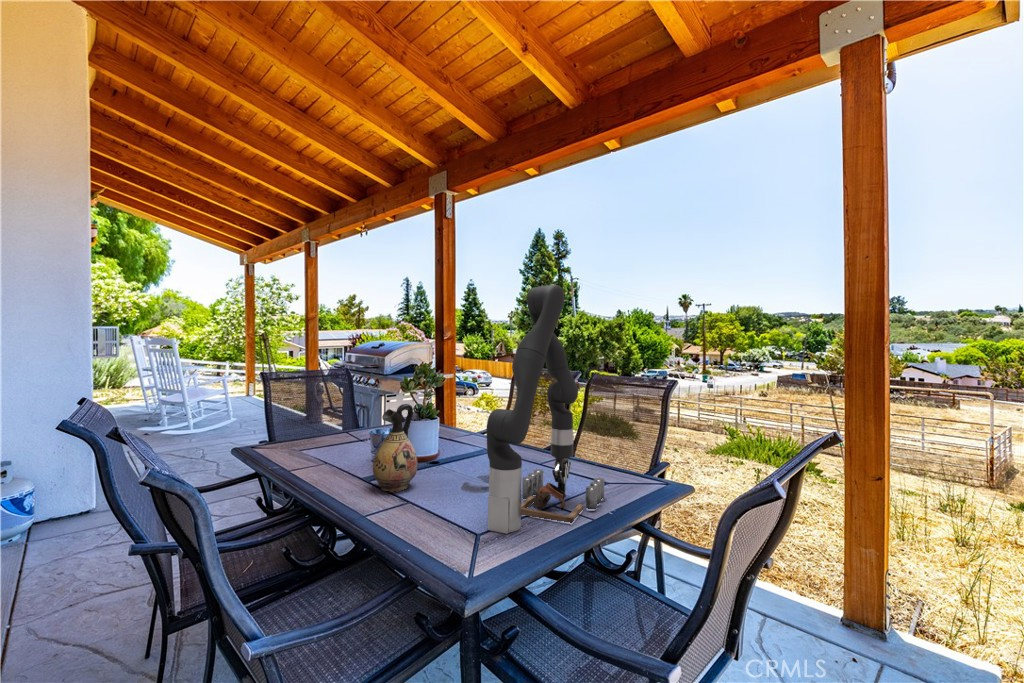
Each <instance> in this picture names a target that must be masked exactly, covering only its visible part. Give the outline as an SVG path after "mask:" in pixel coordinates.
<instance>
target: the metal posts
mask: <svg viewBox="0 0 1024 683" xmlns="http://www.w3.org/2000/svg"><path fill="white" fill-rule="evenodd" d="M543 486H544V470H543V469H540V468H539V469H537V468H536V469H533V472H528V474H527V476H523V477H521V499H522V498H523V499H527V498H528V497H530V496H533V495H536V494H537V492H538V490H539V489H540V488H541V487H543ZM602 498H604V499H605V479H604V478H602V477H594V479H593V481H591V482H590V483H589V485H588V486H586V487H585V509H586V508H588V509H596V508H597V509H598V507H597V504H599V503H602V502H601V499H602ZM523 499H522V500H523Z"/></svg>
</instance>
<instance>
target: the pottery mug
mask: <svg viewBox="0 0 1024 683" xmlns="http://www.w3.org/2000/svg"><path fill="white" fill-rule="evenodd" d="M551 497H553V498H555V499H558V500H559V501H561V505H560V507H559V508H560V509H561V508H562V507H563V508H564V507H565V504H566V502H565V498H566V497H567V494H566V492H565V493H564V492H563V491H562V490H561V489H559V488H558V486H556V485H555V484H553V483H550V482H547V483H546V484H545V485H543V487H541V488H540V489H539V490H538V492H537V494H536V496H535V500H534V503H533V504H532V505H533V507H536V508H535V509H537V508H538V509H539V508H540V509H546V507H547V505H548V503H549V502H550V501H551Z"/></svg>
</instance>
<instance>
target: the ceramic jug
mask: <svg viewBox="0 0 1024 683" xmlns="http://www.w3.org/2000/svg"><path fill="white" fill-rule="evenodd" d="M403 411H407V414H406V419H405V416H404V414H403ZM413 416H414V408H413V406H412V405H411V404H408V403H402V404H400V405H399V406H398V407H397V409H396V410H392V409H390V408H388V409H387V410H386V411H385V412H383V415H382V420H383V421H386V422H387V423H390V424H392V428H391V430H390V432H389V433H388V434H387V435H386V437H385V438H384V440H383V442H382V443H381V445H380V446H379V448H378V449H377V451H376V454H375V457H374V459H373V464H372V473H373V476H374V478H375V480H376V482H377V483H378V485H379V486H380V490H381V491H382V490H383V491H382V492H386V491H390V492H389V493H395V492H394V491H398V492H401V491H400V490H403V491H405V490H406V489H407V488H408V486H409V484H410V482H412V481H413V479H414V478H415V476H416V475H417V472H418V456H417V453H416V449H415V448H414V446H413V444H412V442H411V441H410V439H409V436H408V435H409V429H410V426H411V422H412V420H413ZM403 423H404V425H403ZM404 489H405V490H404Z"/></svg>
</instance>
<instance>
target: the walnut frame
mask: <svg viewBox="0 0 1024 683" xmlns="http://www.w3.org/2000/svg"><path fill="white" fill-rule="evenodd" d="M534 500H535V496H530V497H528V498H527V499H526V500H523V501H521V515H526V516H532V517H539V518H544V519H551V520H557V521H564V522H570V523H572V522H573V521H574V519H575V518H576V517H577V516H578V514H579V513H580V512H581V511H582V510H583V508H584V506H585V505H584V504H582V503H578V504H577V506H576V507H575V508H574V509H573V510H572V511H571V512H570V513H569V514H568V515H566V514H561V513H560V514H559V513H555V512H549V511H544V510H539V509H533V508H530V507H531V506H532V505H533V504H532V503H533V502H534ZM531 504H532V505H531ZM530 505H531V506H530ZM529 506H530V507H529ZM527 507H529V508H527ZM583 511H584V510H583Z"/></svg>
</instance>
